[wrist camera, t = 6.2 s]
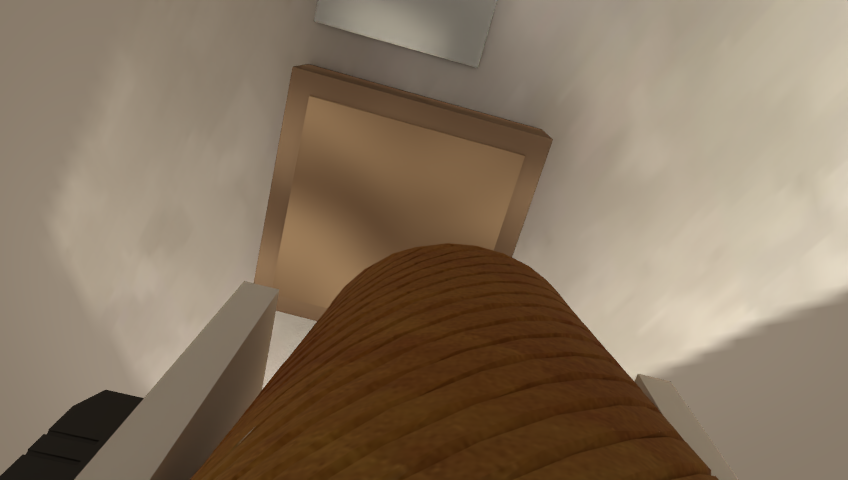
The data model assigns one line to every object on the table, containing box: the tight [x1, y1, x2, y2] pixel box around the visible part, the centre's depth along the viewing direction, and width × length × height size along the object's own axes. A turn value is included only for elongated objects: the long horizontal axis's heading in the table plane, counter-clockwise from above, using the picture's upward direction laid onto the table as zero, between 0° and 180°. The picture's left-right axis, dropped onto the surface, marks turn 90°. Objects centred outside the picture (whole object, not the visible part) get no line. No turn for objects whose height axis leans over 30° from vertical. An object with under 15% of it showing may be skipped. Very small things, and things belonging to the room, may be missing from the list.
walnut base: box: [254, 64, 553, 321], centre depth 28 cm, size 12×12×3 cm
